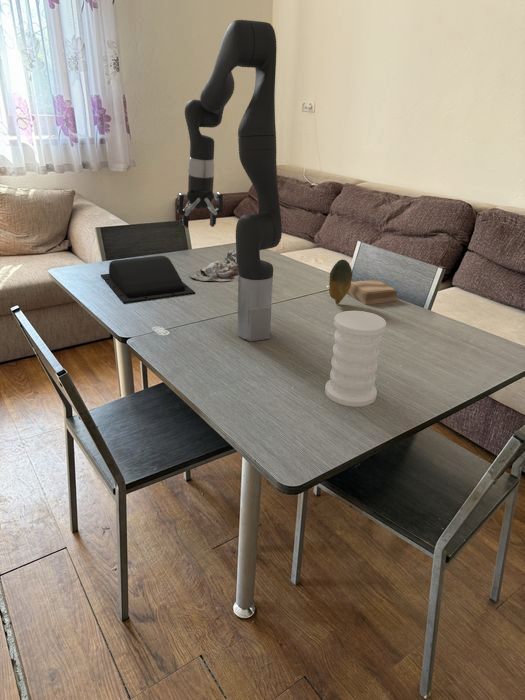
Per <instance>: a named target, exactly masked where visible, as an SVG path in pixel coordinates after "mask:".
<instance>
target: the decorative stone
mask: <svg viewBox="0 0 525 700" xmlns="http://www.w3.org/2000/svg"><path fill="white" fill-rule="evenodd" d="M351 282H353V269H352V267H351V265H350V263H349V261H347V260H346V259H339V260H337V262H335V264H334V265H333V266H332V268H331V270H330V272H329V281H328V283H329V284H328V285H329V286H328V287H329V288H328V294H329V297H331V298H332V299H333V300H334V301H335V304H336V305H338V304H340V303H341V301H342V300H343V299H344V298H345V296H346V295H348V293H347V292H348V291H349V289H350V287H351Z"/></svg>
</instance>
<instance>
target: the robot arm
mask: <svg viewBox="0 0 525 700" xmlns="http://www.w3.org/2000/svg"><path fill="white" fill-rule="evenodd" d="M237 67H240V68H254V69H255V82H254V90H253V94H252V96H251V100H250V101H249V103H248V105H247V107H246V110H245V111H244V113H243V115H242V118H241V119H240V123H239V125H238V129H237V141H238V143H237V144H238V155H239V161H240V164H241V166H242V168H243V170H244V172H245V173H246V175H247V177H248V178H249V180H250V182H251V184H252V186H253V187H254V190H255V193H256V196H257V197H256V199H257V205H258V206H257V207H258V208H257V209H258V212H256V213H250V214H249V213H248V214H243V215H241V216H240V217H239V218H238V219H237V222H236V226H235V227H236V228H235V251H236V257H235V261H236V262H237V264H236V265H238V270H239V274H238V275H237V276H238V283H237V287H238V289H237V324H236V325H237V333H236V334H237V336H238V337H239V338H241V339H243V340H247V341H248V342H255V341H262V340H270V339H271V328H272V326H271V324H272V323H271V321H272V305H273V304H272V302H273V285H274V284H273V282H274V266H273V264H272V263H271V262H269V261H265V260H262V259H261V257H260V256H261V255H260V253H261V252H260V251H262V250H269V249H274V248H276V247H277V246H278V245H279V244H280V242H281V239H282V235H283V225H282V224H283V223H282V216H281V215H282V214H281V209H280V208H281V207H280V197H279V188H278V185H279V184H278V169H277V130H276V127H277V126H276V108H275V107H276V104H275V103H276V102H275V100H276V98H275V96H276V71H277V37H276V32H275V29H274V26H273V25H272V24H271V23H269V22H267V21H257V20H249V19H248V20H247V19H236V20H234V21H231V23H230V24H229V25H228V27H227V29H226V31H225V32H224V36H223V38H222V41H221V44H220V48H219V50H218V54H217V56H216V60H215V64H214V65H213V70H212V72H211V74H210V77H209V78H208V80H207V82H206V83H205V85H204V86H203V89H202V90H201V92H200V95H199V99H190V100H188V101H187V103H186V105H185V107H184V118H185V121H186V126H187V131H188V137H189V160H188V161H189V162H188V169H187V170H188V171H187V172H188V179H187V180H188V184H187V185H188V186H187V188H188V189H187V193H182V192H177V197H176V212H177V213H178V214H179V215H182V217H181V218H182V221H181V222H182V226H183V227H184V228H186V229H188V228H189V222H190V221H189V218H190V217H189V214H190V213H191V212H192V211H194V209H206V208H208V210H209V212H210V213H209V225H210V227H211V228H213V227H215V225H216V224H217V215H218V214H222V213H223V204H224V202H223V198H224V197H223V196H224V195H223V193H221V192H219V191H217V192H215V193H214V182H215V181H214V177H215V140H214V138H213V137H211V136H208V135H206V134H205V135H204V134H202V133H201V131H200V128H210V129H211V128H216V127H219V125H220V124H221V123H222V121H223V113H224V109H225V107H226V105H227V104H228V102H229V101H230V100H231V98H232V96H233V94H234V93H235V79H234V76H233V70H234V69H235V68H237ZM186 199H187V200H188V201H187V203H186V204H185V206H184V202H185V201H186ZM213 199H214V200H215V201H216V206H215V207H216V208H215V207H214V205H213V203H212V202H213Z"/></svg>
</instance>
